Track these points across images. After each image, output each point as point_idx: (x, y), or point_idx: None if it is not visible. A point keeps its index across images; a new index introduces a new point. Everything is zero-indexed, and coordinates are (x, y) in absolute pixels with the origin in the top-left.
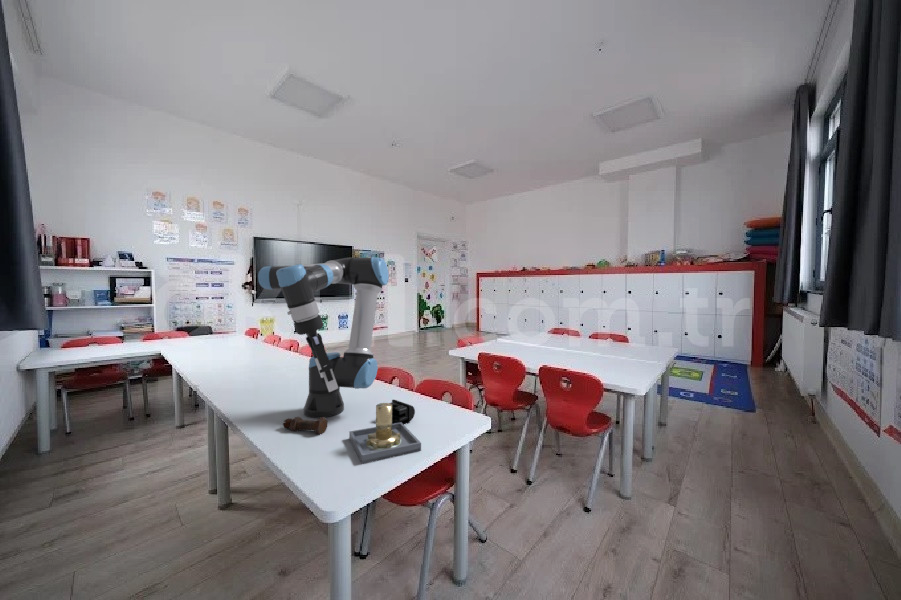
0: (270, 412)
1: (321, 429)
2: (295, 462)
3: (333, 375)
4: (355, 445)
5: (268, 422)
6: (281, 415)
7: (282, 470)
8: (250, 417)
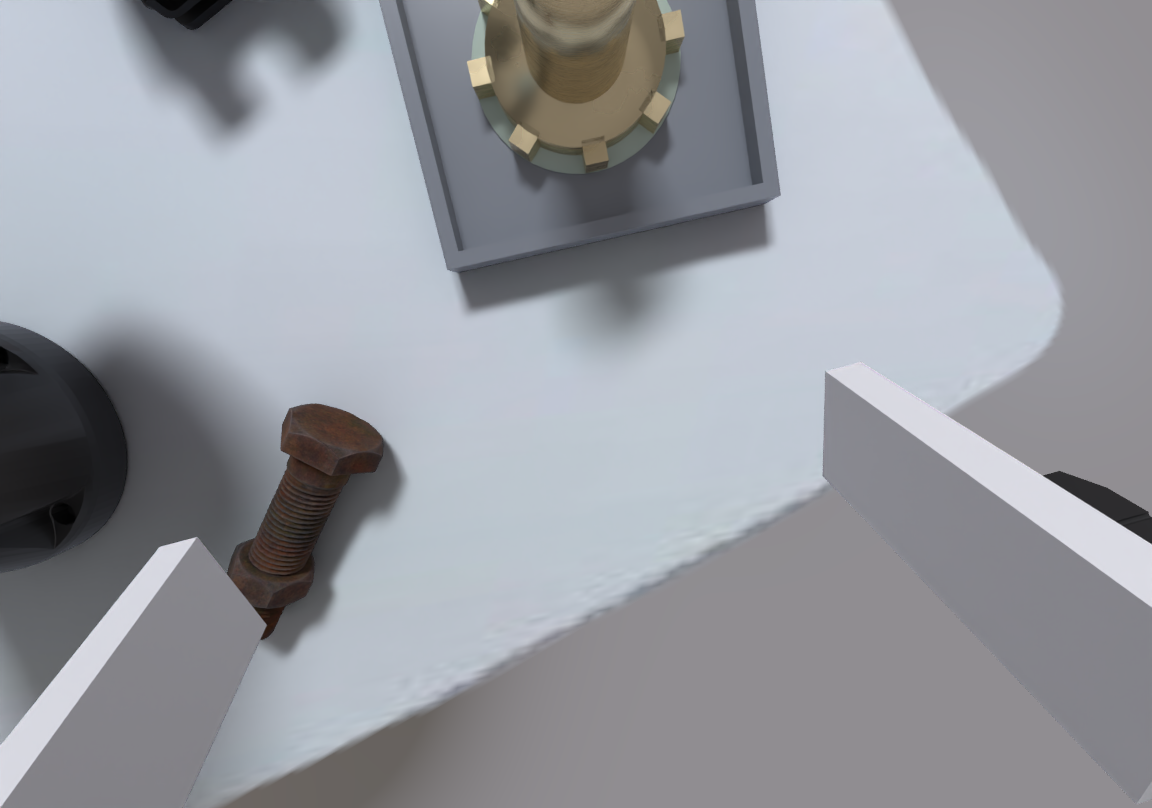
0: None
1: (361, 432)
2: (659, 505)
3: (1063, 498)
4: (616, 233)
5: None
6: None
7: (715, 543)
8: None
